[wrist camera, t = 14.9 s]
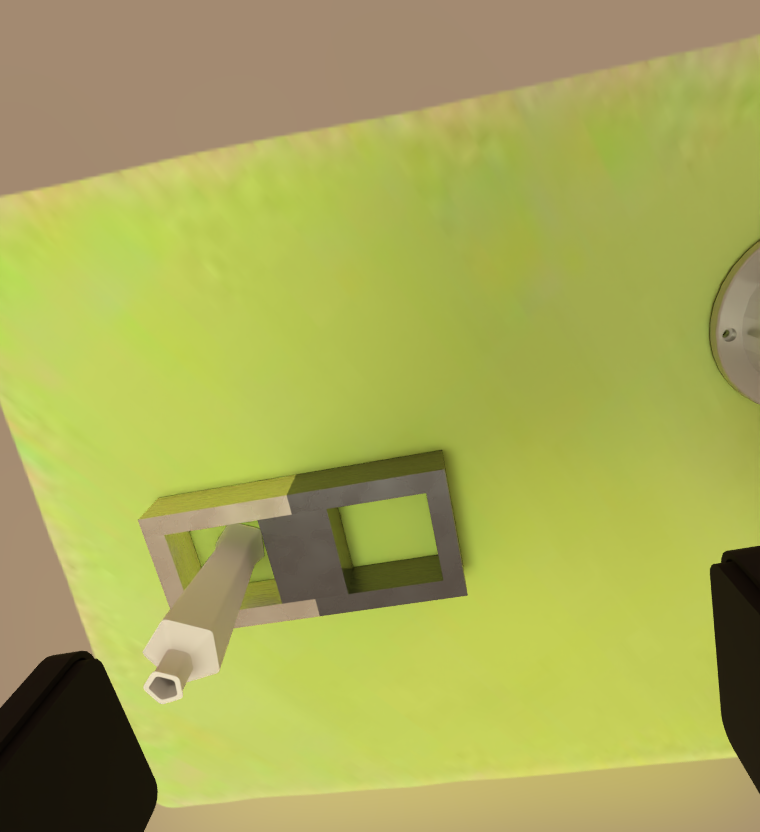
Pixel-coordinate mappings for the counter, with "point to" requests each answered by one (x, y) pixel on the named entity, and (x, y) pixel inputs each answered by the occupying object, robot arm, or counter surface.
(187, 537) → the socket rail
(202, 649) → the perfume bottle
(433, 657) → the counter surface
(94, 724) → the robot arm
